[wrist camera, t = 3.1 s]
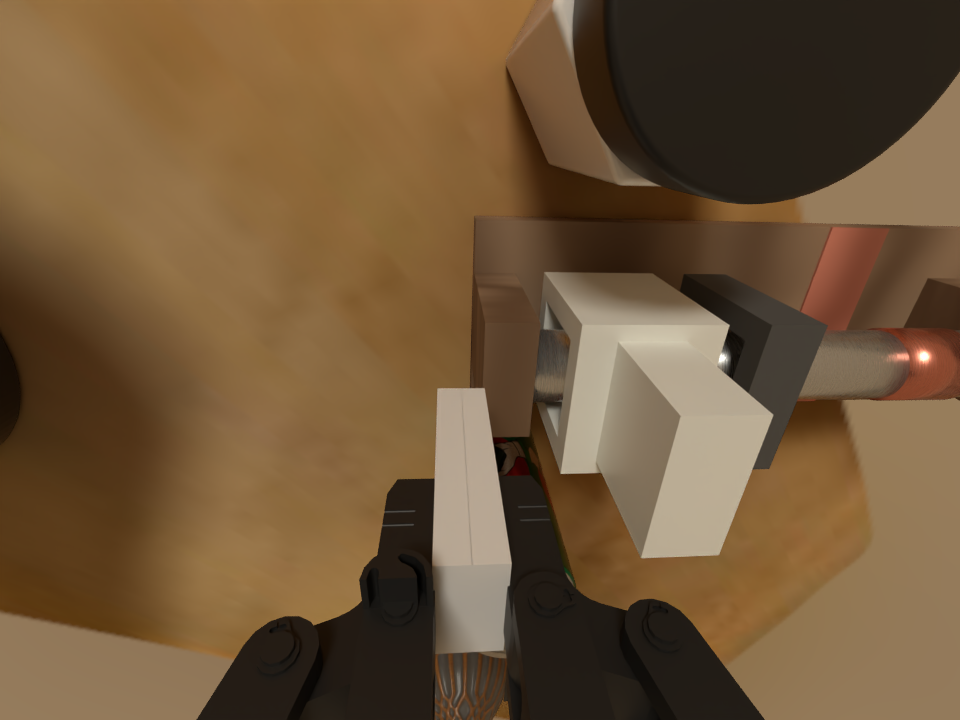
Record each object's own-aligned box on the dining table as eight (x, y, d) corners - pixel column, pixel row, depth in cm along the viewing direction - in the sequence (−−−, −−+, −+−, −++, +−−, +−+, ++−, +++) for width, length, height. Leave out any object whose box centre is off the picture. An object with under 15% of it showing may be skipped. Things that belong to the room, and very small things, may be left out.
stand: (469, 394, 26) (478, 484, 19) (474, 215, 21) (488, 252, 15) (884, 390, 28) (1021, 470, 21) (967, 226, 24) (1174, 263, 17)
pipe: (498, 380, 21) (506, 420, 18) (501, 315, 19) (511, 347, 16) (972, 377, 22) (1048, 412, 20) (1007, 317, 21) (1095, 346, 18)
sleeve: (532, 391, 23) (594, 573, 13) (544, 272, 20) (633, 395, 11) (627, 390, 23) (753, 567, 14) (652, 273, 20) (831, 393, 11)
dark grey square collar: (655, 390, 23) (721, 469, 18) (683, 273, 21) (772, 325, 15) (692, 390, 23) (769, 469, 18) (725, 274, 21) (828, 325, 15)
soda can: (429, 438, 27) (421, 635, 17) (485, 382, 26) (514, 559, 15) (491, 478, 29) (518, 679, 18) (546, 428, 27) (611, 615, 17)
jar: (616, 211, 22) (780, 285, 11) (474, 112, 20) (510, 85, 9) (750, 20, 19) (1156, -130, 8) (600, -127, 16) (892, -613, 6)
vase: (463, 648, 37) (468, 785, 29) (395, 618, 35) (381, 758, 27) (520, 604, 35) (542, 739, 27) (452, 568, 33) (454, 705, 25)
